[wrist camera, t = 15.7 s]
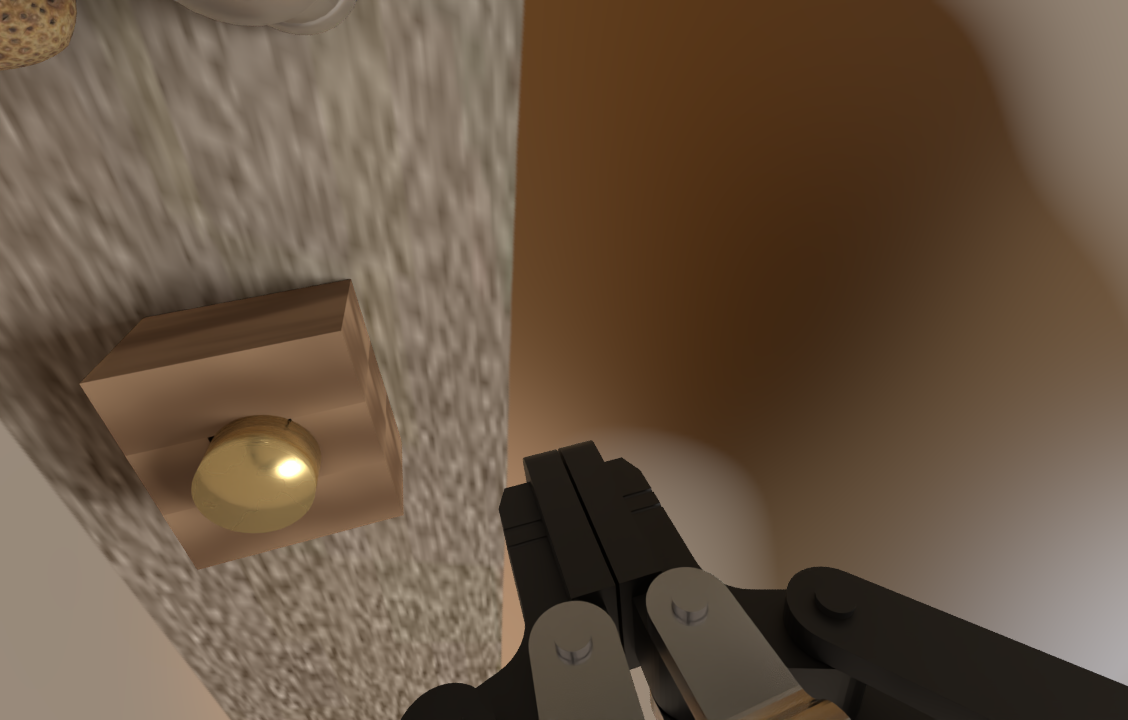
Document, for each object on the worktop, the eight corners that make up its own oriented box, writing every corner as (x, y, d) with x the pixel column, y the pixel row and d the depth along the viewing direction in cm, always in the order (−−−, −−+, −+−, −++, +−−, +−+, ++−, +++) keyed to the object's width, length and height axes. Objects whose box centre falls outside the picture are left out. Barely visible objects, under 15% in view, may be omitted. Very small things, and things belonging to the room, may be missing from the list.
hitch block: (143, 317, 33) (79, 383, 26) (350, 279, 35) (341, 330, 28) (230, 482, 39) (197, 569, 33) (401, 441, 42) (403, 514, 35)
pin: (223, 366, 35) (170, 462, 26) (317, 347, 36) (294, 434, 27) (257, 437, 37) (219, 545, 29) (343, 418, 38) (329, 516, 30)
